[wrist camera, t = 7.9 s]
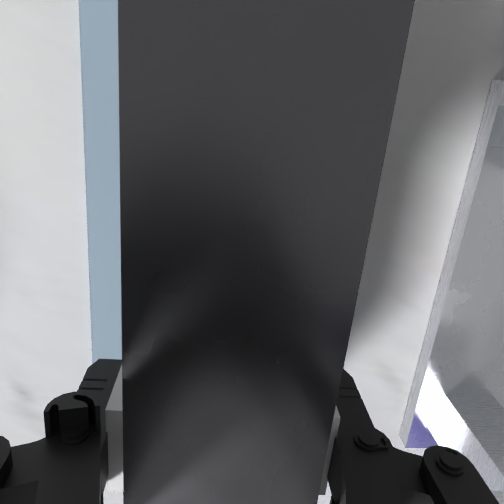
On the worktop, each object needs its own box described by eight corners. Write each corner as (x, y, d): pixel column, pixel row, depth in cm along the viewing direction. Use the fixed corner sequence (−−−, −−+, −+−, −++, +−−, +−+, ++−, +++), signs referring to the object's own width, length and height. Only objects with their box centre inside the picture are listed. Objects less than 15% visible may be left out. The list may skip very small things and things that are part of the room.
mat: (99, 460, 27) (96, 468, 27) (81, -31, 18) (77, -35, 18) (308, 464, 28) (309, 471, 28) (389, 6, 19) (394, 3, 19)
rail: (253, 582, 20) (264, 771, 15) (153, 581, 20) (126, 776, 14) (336, -19, 12) (435, -107, 6) (167, -39, 12) (116, -153, 6)
